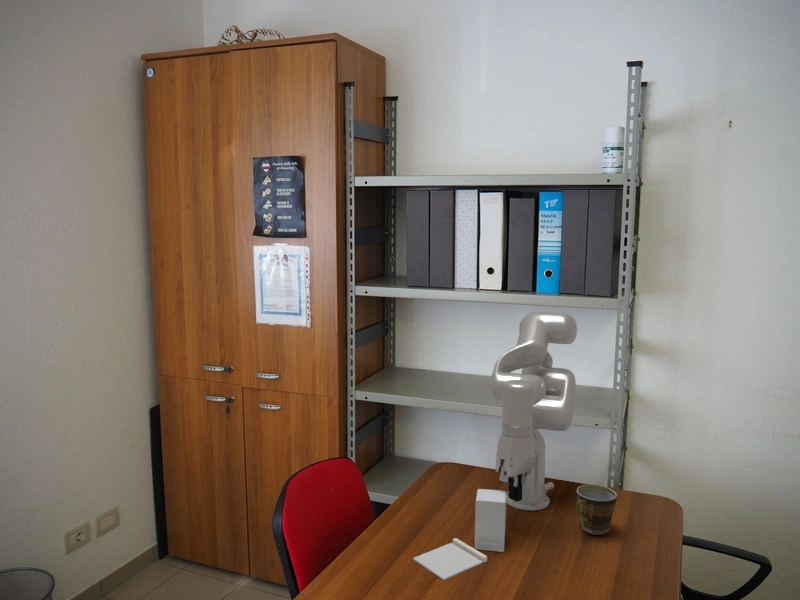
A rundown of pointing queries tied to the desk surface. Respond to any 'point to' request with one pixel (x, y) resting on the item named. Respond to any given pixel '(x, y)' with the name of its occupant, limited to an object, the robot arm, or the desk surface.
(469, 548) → the strip
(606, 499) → the ceramic cup
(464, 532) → the desk surface
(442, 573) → the mat
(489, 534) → the supplement box
